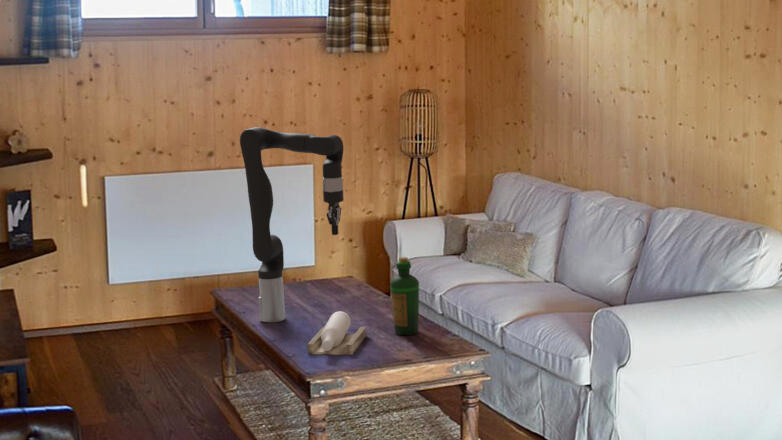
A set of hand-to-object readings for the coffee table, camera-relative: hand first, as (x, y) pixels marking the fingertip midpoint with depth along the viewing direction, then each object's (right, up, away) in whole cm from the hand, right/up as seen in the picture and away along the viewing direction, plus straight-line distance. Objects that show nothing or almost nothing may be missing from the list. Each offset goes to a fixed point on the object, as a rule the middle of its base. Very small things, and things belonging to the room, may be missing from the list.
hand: (335, 234), depth 407 cm
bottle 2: (+27, -36, -10) cm, 46 cm away
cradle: (+2, -39, -21) cm, 44 cm away
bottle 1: (+2, -32, -8) cm, 33 cm away
